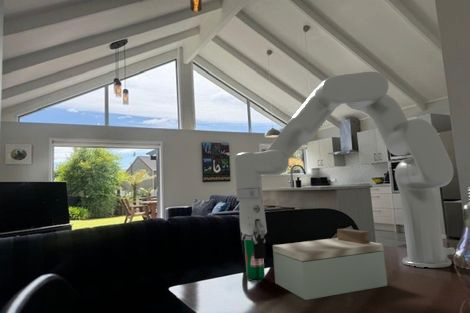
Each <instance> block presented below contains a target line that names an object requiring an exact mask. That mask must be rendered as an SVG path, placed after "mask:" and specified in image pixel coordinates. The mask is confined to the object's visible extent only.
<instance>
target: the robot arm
mask: <svg viewBox="0 0 470 313" xmlns="http://www.w3.org/2000/svg"><path fill="white" fill-rule="evenodd" d="M389 88H390V87H389V81H388V79H387V77H385V75H384V74H382V73H380V72H378V71H363V72H354V73H346V74H338V75H334V76H330V77H327V78H326V79H324V80H323V81H322V82H321V83H320V84H319V85H318V86H317V87H316V88H314V90H313V91H312V93H310V95H309V96H308V97H307V98H306V100H305V101H304V102H303V104H301V106H300V107H299V109H298V110H296V112H295V113H294V114H293V115H292V117H291V118H290V119H289V120H288V122H287V123H286V124H285V126H284V127H283V129H282V130H281V131H280V133H279V134H278V135H277V136H276V138H275V139H274V140H273V141H272V143H271V144H270V145H269V146H268V147H267V148H266V150H265V151H258V152H255V151H254V152H253V151H245V152H240V153H237V154H236V155H235V156H234V174H235V189H236V201H237V202H239V204H238V206H239V209H238V210H239V211H238V212H239V213H238V214H239V215H238V216H239V230H240V234H241V246H242V248H241V250H242V254H243V255H245V242H244V239H245V236H246V235H249V236H252V237H253V240H254V243H255V244H253V248H254V259H266V258H267V254H266V252H267V251H266V234H267V233H268V230H267V221H266V213H265V206H264V203H263V200H264V194H263V181H262V176H264V177H266V178H273V177H277V176H281V175H282V174H284V173H285V172H286V171H287V169H288V168H289V162H290V161H289V160H290V159H291V157H292V156H293V155H294V154H295V153H296V152H297V151H298V150H299V149H300V148H301V147H302V146H304V145H305V144H307V143H308V142H309V141H310V140H311V139H312V138H313V137H314V136H315V135H316V133H317V132H319V130H320V129H321V127H322V126H323V124H324V123H325V122H326V121H327V119H329V117H330V116H331V114H333V113H334V111H335V110H336V109H337V108H338V107H339V106H341V105H342V104H343V105H344V104H345V105H346V106H347V107H348V108H350V109H353V110H356V111H361V112H363V113H364V114H367V115H368V116H369V117H370V118H371V119H372V120H373V123H374V124H375V126H376V128H377V129H378V132H379V134H380V136H381V139H382V141H383V143H384V145H385V147H386V149H387V151H388V152H389V153H390V154H392V155H393V156H399V157H401V156H406V155H410V156H411V157H408V158H405V159H403V160H401V161H400V162H399V163H398V164H397V165H396V167H395V171H394V179H395V182H396V185H397V188H398V189H397V190H398V193H399V196H400V203H401V208H402V209H401V211H402V218H403V226H404V236H405V243H406V251H407V252H406V253H407V256H404V257H402V263H403V264H404V265H406V266H409V265H410V267H414V266H416V267H417V268H424V267H428V268H427V269H429V268H430V269H438V268H439V269H440V268H447V267H450V266H452V265H451V264H453V263H452V260H451V259H450V258H448V256H449V255H450V256H451V255H454V253H455V254H456V252H455V251H456V250H457V249H455V248H454V247H446V246H444V242H443V236H442V230H441V229H442V227H441V221H440V220H441V219H440V212H439V205H438V201H437V197H436V194H435V192H434V191H433V189H435V188H438V189H439V188H442V187H446V186H447V185H448V184H450V182H451V181H452V179H453V178H454V166H453V163H452V161H451V158H450V156H449V154H448V152H447V150H446V148H445V145H444V143H443V141H442V139H441V137H440V135H439V133H438V131H437V129H436V128H435V127H434V125H432V124H431V123H430V122H429V121H428V120H425V119H422V118H412V119H409V120H408V118H407V116H406V115H405V113H404V111H403V109H402V107H401V105H400V104H399V103H398V102H397V101H396V100H395V99H394V98H393V97H392V96H391V95H388V91H389ZM256 236H257V238H256Z"/></svg>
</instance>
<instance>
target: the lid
mask: <svg viewBox="0 0 470 313" xmlns="http://www.w3.org/2000/svg"><path fill="white" fill-rule="evenodd" d="M336 233H337V237H334V238H325V239H316V240H307V241H301V242H300V241H299V242H293V243H290V242H289V243H283V244H273V245H272V252H277V253H279V254H282V255H285V256H288V257H291V258H294V259H297V260H299V261H309V260H317V259H324V258H331V257H339V256H346V255H353V254H361V253H368V252H375V251H384V244H383V243H380V242H379V243H378V242H373V241H370V233H369V231H366V230H365V231H364V230H358V229H350V228H337V229H336Z"/></svg>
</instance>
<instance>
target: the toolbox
mask: <svg viewBox="0 0 470 313" xmlns="http://www.w3.org/2000/svg"><path fill="white" fill-rule="evenodd" d="M272 256H273V268H274V269H273V270H274V271H273V272H274V283H275V284H276V285H278V286H280V287H282V288H284V289H285V290H287V291H289V292H291V294H294V295H295V296H297V297H299V298H301V299H302V300H304V301H307V300H309V301H310V300H314V299H320V298H324V297H330V296H336V295H342V294H347V293H354V292H358V291H365V290H371V289H376V288H381V287H382V288H383V287H387V286H388V278H387V270H386V260H385V259H386V258H385V251H384V250H383V251H375V252H368V253H361V254H353V255H346V256H339V257H331V258H324V259H317V260H309V261H299V260H297V259H294V258H291V257H288V256H285V255H282V254H279V253H277V252H274V251H272Z"/></svg>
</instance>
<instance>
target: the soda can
mask: <svg viewBox="0 0 470 313" xmlns="http://www.w3.org/2000/svg"><path fill="white" fill-rule="evenodd" d="M256 238H257V236H256ZM244 242H245V254H244V256H245V268H246V272H245V273H246V278H247V280H249V281H252V280H257V281H262V280H263V279H264V278H265V277H266V276H265V275H266V274H265V262H264V259H265V258H263V259H254V248H253V244H255V243H254V240H253V237H252V236H249V235H246V236H245V239H244ZM261 279H262V280H261Z"/></svg>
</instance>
